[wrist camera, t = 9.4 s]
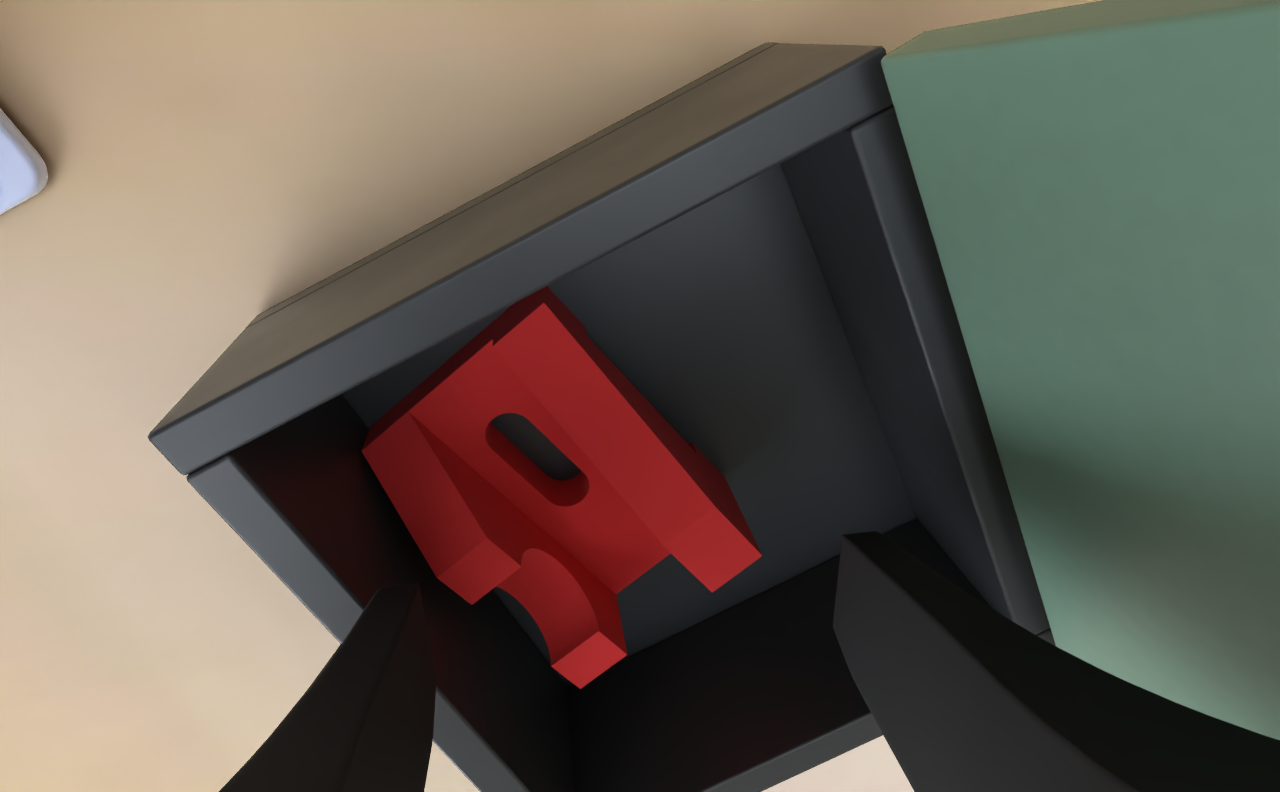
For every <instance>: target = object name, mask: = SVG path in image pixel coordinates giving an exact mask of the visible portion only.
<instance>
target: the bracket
mask: <svg viewBox="0 0 1280 792" xmlns="http://www.w3.org/2000/svg"><path fill="white" fill-rule="evenodd" d="M504 413H516V414H520V415H522V416H524V417H525V418H527V419H528V420H529V421H530V422H531V423H532V424H533V425H534V426H535V427H536V428H537V429H538V430H540V431H541V432H542V433H543V434H544V435H545V436H546V437H547V438H548V439H549V440H550V441H551V442H552V443H553V444H554V445H555V446H556V447H557V448H558V449H559V450H560V451H561V452H563V453H564V454H565V455H566V456H567V457H568V458H569V459H570V460H571V461H572V462H573V463H574V464H575V465H576V466H577V467H578V468H579V469H580V470H581V473H580V474H579V475H577V476H576V477H574V478H572V479H570V480H564V481H560V480H555V479H552V478H550V477H549V476H547V475H546V474H545V473H544V472H543V471H542V470H541V469H540V468H539V467H538V466H536V465H535V464H534V463H533V462H532V461H531V460H530V459H529V458H528V457H527V456H526V455H525V454H524V453H522V452H521V451H520V450H519V449H518V448H517V447H516V446H515V445H514V444H513V443H512V442H511V441H509V440H508V439H507V438H506V437H505V436H504V435H503V434H502V433H501V432H500V431H499V430H498V429H497V428H495V427H494V426H493V425H492V424H491V422H490V421H491V420H492V419H494V418H495V417H497V416H498V415H501V414H504ZM362 453H363V455H364V456H365V458H366V460H367V461H368V463H369V465H370V466H371V468H372V470H373V471H374V473H375V475H376V476H377V478H378V480H379V481H380V483H381V485H382V487H383V488H384V490H385V492H386V493H387V495H388V497H389V498H390V500H391V502H392V503H393V505H394V507H395V508H396V510H397V512H398V513H399V515H400V517H401V518H402V520H403V522H404V524H405V525H406V527H407V529H408V530H409V532H410V534H411V535H412V537H413V539H414V540H415V542H416V544H417V545H418V547H419V549H420V550H421V552H422V554H423V555H424V557H425V559H426V561H427V562H428V564H429V566H430V567H431V569H432V571H433V572H434V574H435V576H436V577H437V578H438V579H439V580H440V581H442V582H443V583H444V584H445V585H447V586H448V587H449V588H451V589H452V590H453V591H454V592H456V593H457V594H458V595H460V596H461V597H462V598H463V599H465V600H466V601H467V602H469V603H470V604H471V605H473V604H474V603H475V602H476V601H478V600H479V599H480V598H482V597H483V596H484V595H485V594H487V593H488V592H489V591H491V590H492V589H493V588H494V587H499V588H501V589H503V590H505V591H506V592H508V593H509V594H511V595H512V596H513V597H515V598H516V599H517V600H518V601H519V602H520V603H521V604H522V605H523V606H524V607H525V608H526V610H527V611H528V612H529V613H530V615H531V616H532V617H533V619H534V620H535V622H536V623H537V625H538V627H539V628H540V630H541V632H542V634H543V636H544V638H545V641H546V643H547V646H548V649H549V653H550V658H551V667H553V668H554V669H555V670H557V671H558V672H559V673H560V674H562V675H563V676H564V677H566V678H567V679H568V680H569V681H571V682H572V683H573V684H575V685H576V686H577V687H579V688H580V689H581V688H583V687H584V686H585V685H587V684H588V683H590V682H591V681H592V680H594V679H595V678H596V677H598V676H599V675H600V674H602V673H603V672H605V671H606V670H607V669H609V668H610V667H611V666H613V665H614V664H615V663H617V662H618V661H620V660H621V659H622V658H624V657H625V656H626V655H627V651H626V645H625V640H624V634H623V629H622V623H621V618H620V612H619V607H618V601H617V596H616V594H617V593H619V592H620V591H621V590H623V589H624V588H625V587H627V586H628V585H629V584H631V583H632V582H633V581H635V580H636V579H637V578H639V577H640V576H641V575H643V574H644V573H645V572H647V571H648V570H649V569H651V568H652V567H653V566H655V565H656V564H657V563H659V562H660V561H661V560H663V559H664V558H665V557H667V556H668V555H669V554H672V555H673V556H674V557H675V558H677V559H678V560H679V561H680V562H681V563H682V564H683V565H684V566H685V567H686V568H687V569H688V570H689V571H690V572H691V573H692V574H693V575H694V576H695V577H696V578H697V579H698V580H699V581H701V582H702V583H703V584H704V585H705V586H706V587H707V588H708V589H709V590H710V591H711V592H714V591H715V590H717V589H718V588H719V587H721V586H722V585H723V584H725V583H726V582H727V581H729V580H730V579H732V578H733V577H734V576H736V575H737V574H738V573H740V572H741V571H742V570H744V569H745V568H747V567H748V566H749V565H751V564H752V563H753V562H755V561H756V560H757V559H759V558H760V557H762V554H761V552H760V550H759V547H758V545H757V543H756V541H755V539H754V537H753V535H752V533H751V531H750V529H749V527H748V524H747V522H746V520H745V518H744V516H743V514H742V512H741V510H740V508H739V506H738V503H737V501H736V499H735V497H734V495H733V493H732V491H731V489H730V487H729V485H728V483H727V480H726V478H725V477H724V476H723V475H722V474H721V473H720V472H719V471H718V470H717V469H716V468H715V467H714V465H713V464H712V463H711V462H710V461H709V460H708V459H707V458H706V457H705V456H704V455H703V454H702V453H701V451H700V450H699V449H698V448H697V447H696V446H695V445H694V444H693V443H692V442H691V443H690V444H689V445H688V444H687V442H686V441H685V440H684V439H683V438H682V437H681V436H680V435H679V434H678V433H677V432H676V431H675V430H674V428H673V427H672V426H671V425H670V424H669V423H668V422H667V421H666V420H665V419H664V418H663V417H662V416H661V415H660V413H659V412H658V411H657V410H656V409H655V408H654V407H653V406H652V405H651V404H650V403H649V402H648V401H647V400H646V398H645V397H644V396H643V395H642V394H641V393H640V392H639V391H638V390H637V389H636V388H635V387H634V386H633V384H632V383H631V382H630V381H629V380H628V379H627V378H626V377H625V376H624V375H623V374H622V373H621V372H620V371H619V369H618V368H617V367H616V366H615V365H614V364H613V363H612V362H611V361H610V360H609V359H608V358H607V357H606V356H605V354H604V353H603V352H602V351H601V350H600V349H599V348H598V347H597V346H596V345H595V344H594V343H593V342H592V340H591V339H590V338H589V337H588V336H587V333H586V329H585V326H584V325H583V324H582V323H581V322H580V321H579V320H578V319H577V318H576V317H575V316H574V314H573V313H572V312H571V311H570V310H569V309H568V308H567V307H566V306H565V305H564V304H563V303H562V301H561V300H560V299H559V298H558V297H557V296H556V295H555V294H554V293H553V292H552V291H551V290H550V289H549V287H548V286H546V287H545V288H543V289H541V290H539V291H537V292H535V293H533V294H531V295H529V296H527V297H525V298H524V299H522V300H520V301H518V302H516V303H514V304H513V305H512V306H510V307H509V308H508V309H507V310H506V311H505V312H503V313H502V314H501V315H500V316H499V317H498V318H496V319H495V320H494V321H493V322H492V323H491V324H489V325H488V326H487V327H486V328H485V329H484V330H482V331H481V332H480V333H479V334H478V335H477V336H475V337H474V338H473V339H472V340H471V341H470V342H468V343H467V344H466V345H465V346H464V347H463V348H461V349H460V350H459V351H458V352H457V353H456V354H454V355H453V356H452V357H451V358H450V359H449V360H447V361H446V362H445V363H444V364H443V365H442V366H440V367H439V368H438V369H437V370H436V371H435V372H433V373H432V374H431V375H430V376H429V377H428V378H427V379H425V380H424V381H423V382H422V383H421V384H420V385H418V386H417V387H416V388H415V389H414V390H413V391H411V392H410V393H409V394H408V395H407V396H406V397H404V398H403V399H402V400H401V401H400V402H399V403H397V404H396V405H395V406H394V407H393V408H392V409H390V410H389V411H388V412H387V413H386V414H385V415H383V416H382V417H381V418H380V419H379V420H378V421H376V422H375V423H374V424H373V425H372V426H371V427H370V429H369V432H368V435H367V437H366V440H365V443H364V446H363V448H362Z"/></svg>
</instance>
